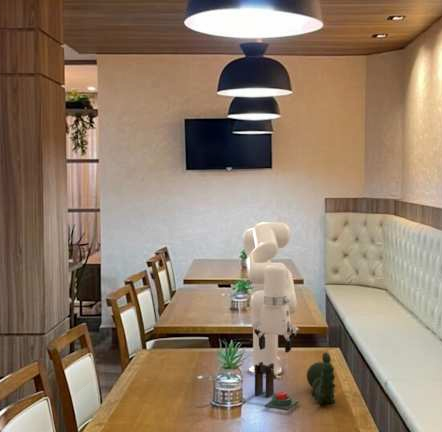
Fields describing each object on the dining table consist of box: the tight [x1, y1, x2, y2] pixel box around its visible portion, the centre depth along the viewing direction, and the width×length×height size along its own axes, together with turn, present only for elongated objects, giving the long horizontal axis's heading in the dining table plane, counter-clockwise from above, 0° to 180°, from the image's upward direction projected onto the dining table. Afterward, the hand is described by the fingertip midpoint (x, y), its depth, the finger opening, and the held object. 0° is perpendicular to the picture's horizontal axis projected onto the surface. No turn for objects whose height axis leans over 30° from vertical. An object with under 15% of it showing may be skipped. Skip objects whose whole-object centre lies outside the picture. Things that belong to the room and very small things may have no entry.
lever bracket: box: [254, 362, 275, 399], centre depth 223 cm, size 12×9×12 cm
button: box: [276, 391, 288, 400], centre depth 214 cm, size 3×3×2 cm
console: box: [264, 394, 299, 411], centre depth 214 cm, size 9×8×4 cm
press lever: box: [259, 365, 283, 381], centre depth 227 cm, size 12×5×2 cm, turn 155°
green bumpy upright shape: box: [306, 352, 336, 406], centre depth 223 cm, size 9×19×25 cm
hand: (275, 350), depth 230 cm, fingers open, 9 cm apart
